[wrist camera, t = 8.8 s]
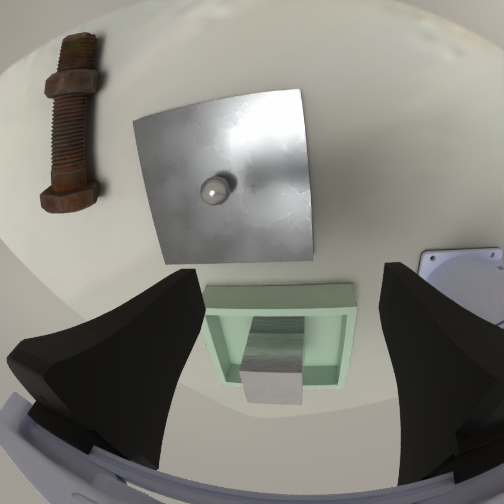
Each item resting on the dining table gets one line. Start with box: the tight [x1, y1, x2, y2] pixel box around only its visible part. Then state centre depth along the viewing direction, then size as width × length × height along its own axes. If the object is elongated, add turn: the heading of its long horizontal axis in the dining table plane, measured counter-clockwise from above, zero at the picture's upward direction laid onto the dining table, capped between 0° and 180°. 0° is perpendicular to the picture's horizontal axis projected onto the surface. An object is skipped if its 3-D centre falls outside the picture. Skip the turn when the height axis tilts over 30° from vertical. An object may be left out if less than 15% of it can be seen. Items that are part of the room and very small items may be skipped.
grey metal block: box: [239, 316, 305, 405], centre depth 21 cm, size 4×4×6 cm
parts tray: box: [201, 283, 357, 389], centre depth 23 cm, size 12×10×3 cm
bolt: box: [40, 32, 99, 213], centre depth 16 cm, size 6×5×15 cm
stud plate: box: [133, 89, 313, 265], centre depth 18 cm, size 12×12×3 cm
